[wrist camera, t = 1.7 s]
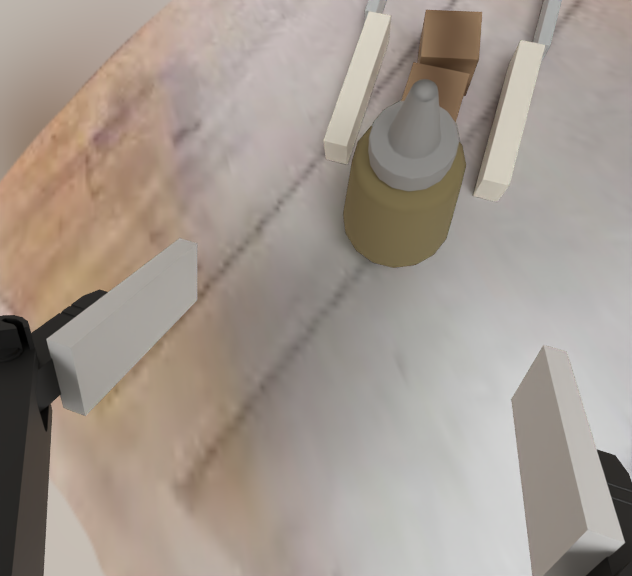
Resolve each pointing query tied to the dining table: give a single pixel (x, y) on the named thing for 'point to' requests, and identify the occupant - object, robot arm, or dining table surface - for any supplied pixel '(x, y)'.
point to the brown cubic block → (441, 85)
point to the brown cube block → (451, 41)
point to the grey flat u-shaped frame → (542, 31)
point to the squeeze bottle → (405, 181)
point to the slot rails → (504, 126)
